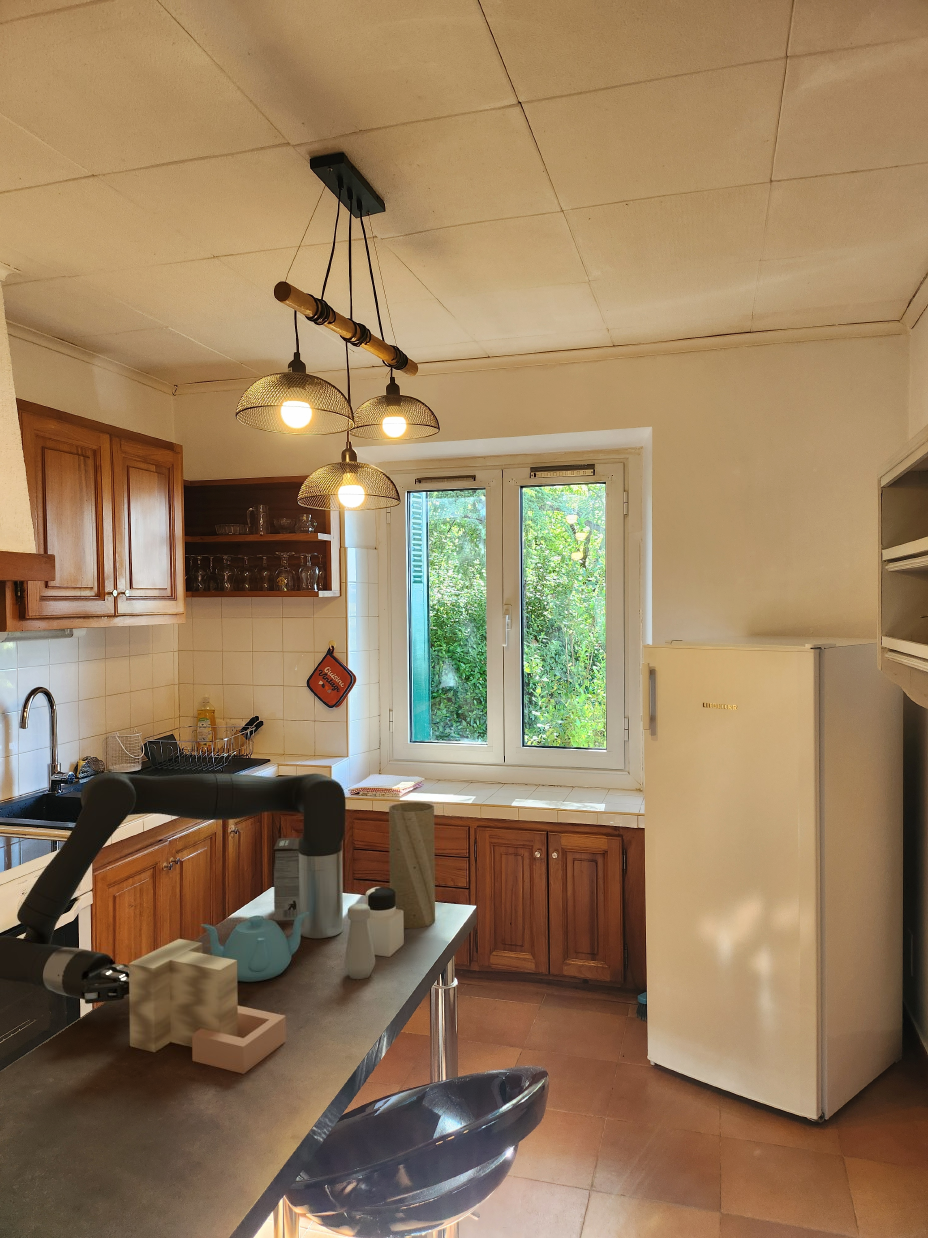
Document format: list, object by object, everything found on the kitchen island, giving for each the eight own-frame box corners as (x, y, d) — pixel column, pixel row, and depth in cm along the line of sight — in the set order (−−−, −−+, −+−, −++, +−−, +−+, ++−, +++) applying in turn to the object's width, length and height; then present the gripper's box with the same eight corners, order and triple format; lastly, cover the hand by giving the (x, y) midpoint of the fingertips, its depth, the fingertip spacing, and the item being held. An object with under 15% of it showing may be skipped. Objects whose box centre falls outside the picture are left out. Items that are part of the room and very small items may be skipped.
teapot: (254, 951, 171) (253, 900, 171) (314, 964, 164) (313, 911, 164) (200, 978, 158) (199, 923, 158) (262, 994, 151) (261, 936, 151)
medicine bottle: (404, 944, 173) (403, 886, 173) (390, 957, 166) (389, 897, 166) (372, 940, 175) (372, 882, 175) (357, 953, 169) (356, 893, 169)
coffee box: (278, 907, 196) (278, 837, 196) (306, 906, 197) (306, 837, 197) (273, 921, 187) (272, 848, 187) (302, 920, 188) (301, 847, 188)
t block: (130, 1046, 133) (129, 963, 133) (179, 1015, 143) (179, 939, 143) (205, 1065, 127) (204, 979, 126) (251, 1032, 137) (251, 952, 137)
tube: (384, 916, 189) (382, 805, 189) (425, 909, 193) (424, 800, 193) (399, 931, 180) (397, 814, 180) (442, 923, 184) (441, 809, 184)
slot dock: (192, 1061, 128) (192, 1034, 128) (236, 1030, 138) (236, 1005, 138) (243, 1074, 124) (243, 1046, 124) (285, 1041, 134) (285, 1016, 134)
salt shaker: (378, 969, 161) (377, 901, 161) (372, 982, 155) (371, 911, 155) (348, 968, 161) (347, 900, 161) (340, 981, 156) (340, 910, 156)
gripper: (45, 966, 139) (124, 983, 132) (109, 937, 151) (184, 952, 144) (45, 1011, 139) (124, 1031, 132) (109, 979, 151) (185, 996, 144)
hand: (155, 989), depth 138 cm, fingers closed
